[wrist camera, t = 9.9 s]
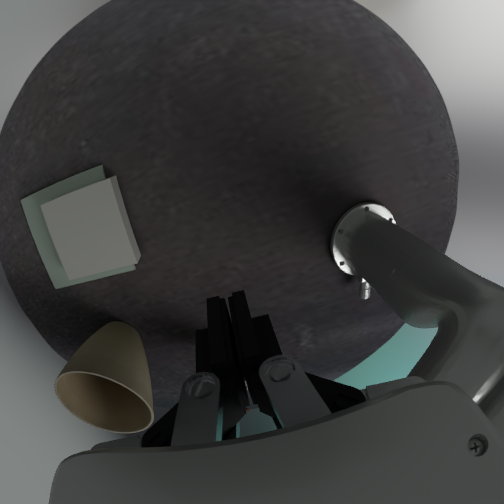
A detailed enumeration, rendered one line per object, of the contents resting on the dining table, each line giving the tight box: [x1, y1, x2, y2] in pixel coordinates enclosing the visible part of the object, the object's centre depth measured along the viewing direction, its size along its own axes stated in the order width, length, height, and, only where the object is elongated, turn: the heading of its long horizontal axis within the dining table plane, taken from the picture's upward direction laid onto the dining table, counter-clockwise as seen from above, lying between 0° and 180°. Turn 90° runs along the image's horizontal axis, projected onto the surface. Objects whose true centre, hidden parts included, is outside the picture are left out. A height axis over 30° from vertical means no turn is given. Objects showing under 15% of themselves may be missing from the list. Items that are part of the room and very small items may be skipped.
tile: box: [40, 175, 141, 280], centre depth 34 cm, size 12×3×12 cm
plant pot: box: [55, 321, 154, 433], centre depth 36 cm, size 15×15×16 cm
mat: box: [21, 165, 135, 289], centre depth 35 cm, size 16×16×1 cm
